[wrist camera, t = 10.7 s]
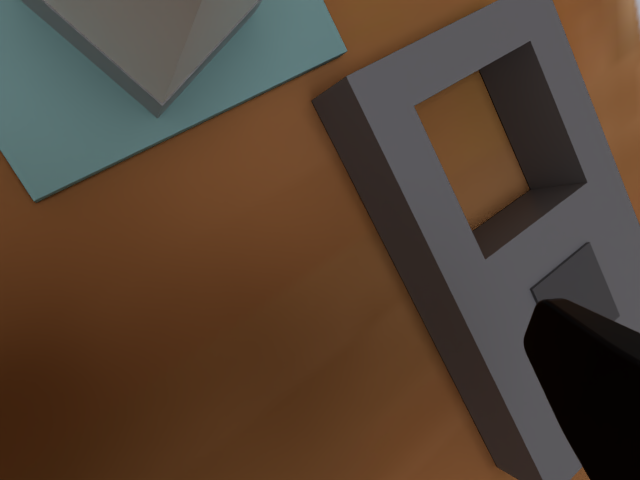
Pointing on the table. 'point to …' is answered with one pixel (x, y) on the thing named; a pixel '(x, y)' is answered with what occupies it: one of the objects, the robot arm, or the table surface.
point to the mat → (119, 106)
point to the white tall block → (147, 39)
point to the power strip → (506, 226)
